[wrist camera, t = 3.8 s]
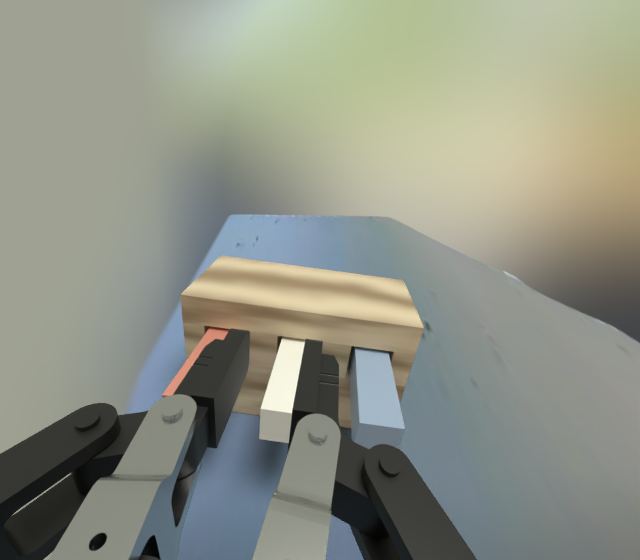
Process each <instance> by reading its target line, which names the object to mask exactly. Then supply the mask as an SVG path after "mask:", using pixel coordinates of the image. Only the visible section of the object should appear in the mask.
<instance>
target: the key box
mask: <svg viewBox="0 0 640 560" xmlns="http://www.w3.org/2000/svg"><path fill="white" fill-rule="evenodd" d="M180 296H181V307H182V317H183V327H184V338H185V348H186V358H187V359H188V358H189V356H190V355H191V353H192V352H193V351H194V349H195V348H196V346H197V345H198V344H199V342H200V341H201V339H202V338H203V336H204V335H205V334H206V332H207V331H208V329H209V328H210V327H211V326H212V327H219V328H226V329H231V328H233V329H241V330H248V331H249V332H250V359H249V367H248V372H247V375H246V377H245V380H244V382H243V385H242V387H241V390H240V392H239V395H238V397H237V399H236V402H235V404H234V407H233V409H232V412H238V413H245V414H252V415H259V416H260V410H261V406H262V402H263V399H264V396H265V393H266V389H267V386H268V383H269V379H270V376H271V373H272V370H273V366H274V363H275V360H276V356H277V353H278V350H279V346H280V343H281V340H282V337H283V336H284V337H291V338H298V339H312V340H319V341H323V346H322V354H328V355H334V356H335V358H336V360H337V362H338V364H339V410H338V419H339V425H340V427H344V428H351V401H350V368H349V356H350V352H351V347H352V346H356V347H363V348H370V349H378V350H385V351H388V352H389V357H390V362H391V366H392V371H393V376H394V380H395V385H396V389H397V394H398V399H399V403H400V401H401V398H402V395H403V392H404V388H405V385H406V382H407V379H408V376H409V373H410V370H411V367H412V364H413V361H414V358H415V355H416V351H417V348H418V345H419V342H420V339H421V336H422V333H423V330H424V327H423V325H422V322H421V320H420V318H419V315H418V313H417V311H416V308H415V306H414V304H413V302H412V299H411V297H410V295H409V292H408V290H407V288H406V285H405V283H404V281H403V280H397V279H390V278H383V277H375V276H368V275H361V274H353V273H346V272H339V271H331V270H324V269H316V268H309V267H302V266H294V265H287V264H280V263H272V262H265V261H258V260H250V259H243V258H235V257H228V256H220V257H219V258H218V259H217V260H216V261H215V262H214V263H213V264H212V265H211V266H210V267H209V268H208V269H207V270H206V271H205V272H204V273H202V274H201V275H200V276H199V277H198V278H197V279H196V280H195V281H194V282H193V283H192V284H191V285H190V286H189V287H188V288H187V289H186V290H185V291H184V292H183V293H182V294H181V295H180Z"/></svg>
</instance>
